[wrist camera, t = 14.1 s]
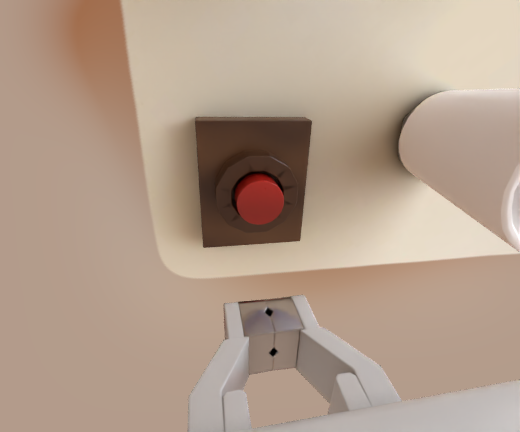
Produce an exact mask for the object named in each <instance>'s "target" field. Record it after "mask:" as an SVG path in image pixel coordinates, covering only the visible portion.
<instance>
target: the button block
mask: <svg viewBox="0 0 520 432" xmlns="http://www.w3.org/2000/svg"><path fill="white" fill-rule="evenodd" d="M195 125H196V141H197V157H198V172H199V188H200V203H201V219H202V234H203V247H204V248H206V247H220V246H235V245H249V244H264V243H278V242H292V241H300V236H301V226H302V216H303V206H304V196H305V186H306V176H307V166H308V155H309V145H310V135H311V125H312V121H311V120H309V119H307V118H305V117H196V119H195ZM257 173H260V174H265V175H268V176H270V177H271V178H272V179H274V181H275V182H276V183H277V185H278V186H279V188H280V189H281V191H282V193H283V196H284V206H283V209H282V211H281V213H280V214H279V216H278V217H277V218H275V219H274V220H273V221H271V222H269V223H266V224H261V225H257V224H251V223H249V222H247V221H245V220H244V219H243V218H242V217H241V216H240V214H239V212H238V209H237V206H236V202H235V190H236V187H237V185H238V184H239V182H240V181H241V180H242V179H244V178H245V177H247V176H249V175H251V174H257Z"/></svg>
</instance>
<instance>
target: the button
mask: <svg viewBox="0 0 520 432" xmlns="http://www.w3.org/2000/svg"><path fill="white" fill-rule="evenodd" d="M235 202H236V206H237V209H238V212H239V214H240V216H241V217H242V218H243V219H244V220H245V221H247V222H249V223H251V224H257V225H261V224H266V223H269V222H271V221H273V220H274V219H275V218H277V217H278V216H279V214H280V213H281V211H282V209H283V206H284V196H283V193H282V191H281V189H280V188H279V186H278V185H277V183H276V182H275V181H274V179H272V178H271V177H270V176H268V175H265V174H260V173H257V174H251V175H249V176H247V177H245V178H244V179H242V180H241V181H240V182H239V184H238V185H237V187H236V190H235Z"/></svg>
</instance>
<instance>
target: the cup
mask: <svg viewBox="0 0 520 432" xmlns="http://www.w3.org/2000/svg"><path fill="white" fill-rule="evenodd" d="M398 157H399V159H400V161H401V163H402V164H403V165H404V166H405V168H406V169H407V170H408V171H409V172H410V173H412V174H413V175H414V176H416V177H417V178H418V179H420V180H421V181H422V182H424V183H425V184H426V185H428V186H429V187H431V188H432V189H433V190H435V191H436V192H438V193H439V194H440V195H442V196H443V197H444V198H446V199H447V200H449V201H450V202H451V203H453V204H454V205H455V206H457V207H458V208H460V209H461V210H462V211H464V212H465V213H466V214H468V215H469V216H471V217H472V218H473V219H475V220H476V221H477V222H479V223H480V224H482V225H483V226H484V227H486V228H487V229H489V230H490V231H491V232H493V233H494V234H495V235H497V236H498V237H500V238H501V239H502V240H504V241H505V242H506V243H508V244H509V245H511V246H512V247H513V248H515V249H516V250H517V251H519V252H520V88H513V89H481V90H450V91H443V92H439V93H436V94H434V95H432V96H430V97H428V98H426V99H425V100H424V101H423V102H422V103H421V104H419V105H418V106H417V107H416V108H414V109H413V110H412V111H411V112H410V113H409V114H407V115H406V116H405V118H404V120H403V125H402V130H401V135H400V139H399V153H398Z"/></svg>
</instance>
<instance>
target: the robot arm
mask: <svg viewBox="0 0 520 432" xmlns="http://www.w3.org/2000/svg"><path fill="white" fill-rule="evenodd" d="M224 329H225V340H223V342H222V343H221V345H220V347H219V348H218V350H217V352H216V353H215V355H214V356H213V358H212V360H211V361H210V363H209V364H208V366H207V368H206V369H205V371H204V373H203V375H202V376H201V378H200V379H199V381H198V382H197V384H196V386H195V387H194V389H193V390H192V392H191V394H190V395H189V405H188V432H520V380H514V381H509V382H503V383H498V384H493V385H487V386H481V387H477V388H471V389H465V390H460V391H454V392H449V393H443V394H438V395H433V396H427V397H421V398H416V399H411V400H405V401H402V400H401V399H400V397H399V395H398V393H397V392H396V390H395V388H394V387H393V385H392V384H391V382H390V380H389V379H388V377H387V375H386V374H385V372H384V370H383V369H382V367H381V366H380V365H378V364H377V363H376V362H374V361H373V360H371V359H370V358H368V357H367V356H365V355H364V354H362V353H361V352H359V351H358V350H356V349H355V348H354V347H352V346H351V345H349V344H348V343H346V342H345V341H343V340H342V339H340V338H339V337H338V336H336V335H335V334H333V333H332V332H330V331H329V330H327V329H326V328H324V327H319V325H318V323H317V320H316V318H315V316H314V314H313V312H312V310H311V308H310V305H309V303H308V301H307V299H306V297H305V296H304V295H297V296H290V297H282V298H274V299H265V300H255V301H244V302H236V303H224ZM289 368H296V369H297V370H298V371H299V372H300V373H301V375H302V376H304V378H305V379H306V380H307V381H308V382H309V383H310V384H311V385H312V386H313V387H314V388H315V389H316V390H317V391H318V392H319V393H320V394H321V395H322V396H323V397H324V398H325V399H326V400H327V401H328V402H329V403H330V406H329V411H328V415H324V416H319V417H313V418H308V419H302V420H297V421H291V422H286V423H281V424H275V425H269V426H264V427H259V428H253V429H252V428H251V422H250V416H249V409H248V403H247V397H246V393H245V392H243V389H244V387H245V384H246V382H247V379H248V377H249V375H250V374H256V373H261V372H267V371H272V370H281V369H289Z"/></svg>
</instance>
